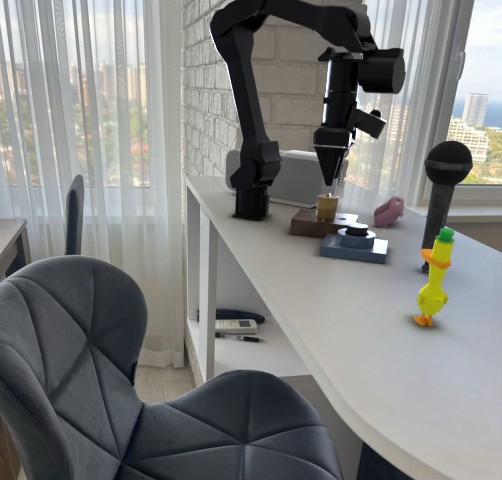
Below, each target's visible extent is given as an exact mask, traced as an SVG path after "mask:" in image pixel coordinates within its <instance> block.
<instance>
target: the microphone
mask: <svg viewBox="0 0 502 480" xmlns="http://www.w3.org/2000/svg"><path fill="white" fill-rule="evenodd" d="M424 159H425V160H424V162H423V164H424V170H425V174H426V176H427V178H428V179H429V181H430V182H431V183H432V186H431V190H430V196H429V201H428V202H429V203H428V207H427V214H426V219H425V226H424V232H423V237H422V241H421V242H422V243H421V247H420V249H433V247H434V242H435V240H436V238H435V237H436V236H437V235H440V229H442V228H446V224H447V220H448V216H449V212H450V208H451V203H452V200H453V196H454V192H455V189H456V186H457V185H459V184H460V183H462V182H463V181H464V180H466V179H467V177H468V176H469V174H470V173H471V170H473V167H474V163H473V155H472V152H471V150H470V148H469V147H468V146H467V145H466V144H464V143H463V142H461V141H458V140H454V139H453V140H452V139H451V140H450V139H449V140H444V141H442V142H439V143H438V144H436V145H435V146H433V147H432V148H431V150H430V151H429V152H428V154H427V156H426V158H424ZM421 271H422V272H423V273H428V272H429V271H430V264H429V263H428V262H426V261H425V260H424V264H422V266H421Z"/></svg>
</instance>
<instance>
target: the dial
mask: <svg viewBox="0 0 502 480" xmlns="http://www.w3.org/2000/svg"><path fill="white" fill-rule="evenodd" d="M338 204H339V196H337V195H336V194H335V195H331V193H328V194H320V195H318V198H317V206H315V207H316V208H315V210H316V217H318V218H323V219H334V218H336V213H338V212H337V211H338Z"/></svg>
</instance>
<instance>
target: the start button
mask: <svg viewBox="0 0 502 480" xmlns="http://www.w3.org/2000/svg"><path fill="white" fill-rule="evenodd" d="M367 231H369V226H368V225H367V224H366V223H360V222H357V223H349V224H347V230H346V234H348V235H352V236H367Z"/></svg>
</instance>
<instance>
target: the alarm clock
mask: <svg viewBox="0 0 502 480" xmlns="http://www.w3.org/2000/svg"><path fill="white" fill-rule="evenodd" d="M240 150H241V148H235V149H234V148H233V149H230V150H228V151H227V153H226V155H225V173H224V175H225V177H224V181H225V185H226V187H227V188H228V189H229V190H231V191H234V196H236V188H232V187H231V183H230V177H231V176H232V174H233V173H234V172H235V171H236V170H237V169H238V168H239V167H240V156H239V154H240ZM279 152H280V156H281V158H282V159H283V161H280V163H281V169H280V171H279V173H278V175H277V176H276V177H275V179H274V181H273V184H272V186H270V187H269V186H268V190H267V194H268V195H269V196H270V198H269V202H274V203H279V204H285V205H290V206H296V207H302V208H305V209H306V208H308V209H311V208H314V207H317V198H318V195H320V194H328V193H331V195H335V196H336V193H337V189H338V180H339V177H338V178H337V179H334V180H333V183H332V186H326V185H325V181H324V178H323V174H322V171H321V167H320V164H319V161H318V158H317V154H316V152H314V151H304V150H297V149H292V150H281V149H279Z"/></svg>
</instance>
